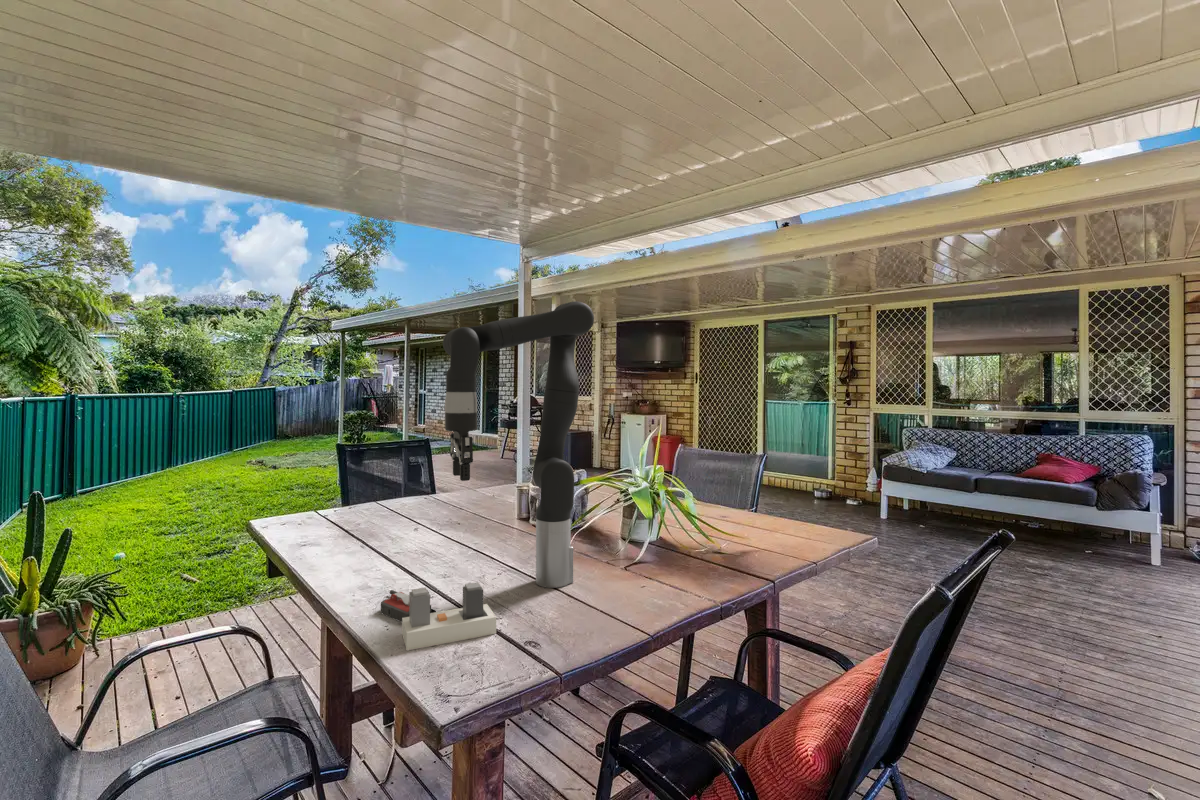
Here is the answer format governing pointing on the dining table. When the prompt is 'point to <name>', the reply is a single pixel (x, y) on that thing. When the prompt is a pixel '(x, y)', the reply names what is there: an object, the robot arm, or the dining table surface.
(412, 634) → the power strip
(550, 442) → the robot arm
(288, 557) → the dining table surface
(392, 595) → the walkie-talkie
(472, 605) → the plug
